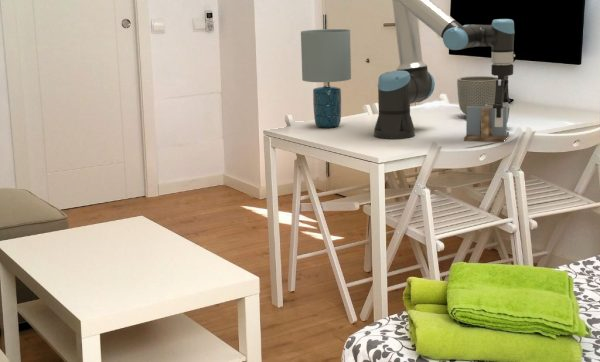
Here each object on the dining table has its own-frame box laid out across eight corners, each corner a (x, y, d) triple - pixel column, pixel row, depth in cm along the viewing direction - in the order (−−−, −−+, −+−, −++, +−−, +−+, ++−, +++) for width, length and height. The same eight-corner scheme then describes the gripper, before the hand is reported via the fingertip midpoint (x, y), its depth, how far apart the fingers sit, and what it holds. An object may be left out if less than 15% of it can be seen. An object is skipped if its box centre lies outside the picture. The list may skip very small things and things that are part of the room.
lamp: (317, 121, 369) (314, 29, 361) (359, 123, 360) (358, 29, 352) (295, 129, 353) (291, 32, 344) (339, 131, 344) (336, 32, 335)
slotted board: (466, 134, 323) (466, 107, 320) (467, 133, 325) (467, 106, 323) (505, 135, 318) (506, 108, 316) (506, 134, 320) (507, 107, 318)
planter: (498, 121, 355) (499, 81, 352) (454, 120, 360) (454, 81, 356) (501, 114, 371) (501, 75, 368) (459, 113, 376) (459, 75, 372)
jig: (464, 140, 318) (464, 109, 315) (470, 134, 330) (470, 104, 327) (504, 142, 313) (505, 110, 311) (508, 135, 325) (509, 104, 323)
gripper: (508, 67, 301) (507, 129, 306) (517, 60, 324) (516, 118, 329) (486, 67, 304) (485, 129, 309) (496, 60, 326) (495, 117, 331)
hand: (501, 123), depth 319 cm, fingers open, 13 cm apart
